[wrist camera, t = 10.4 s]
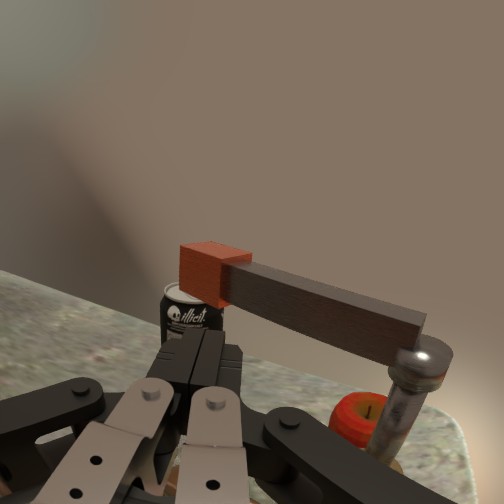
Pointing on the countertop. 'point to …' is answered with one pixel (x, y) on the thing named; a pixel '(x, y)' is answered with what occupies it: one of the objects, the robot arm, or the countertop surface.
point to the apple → (357, 416)
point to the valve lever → (318, 312)
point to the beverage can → (186, 314)
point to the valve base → (394, 425)
